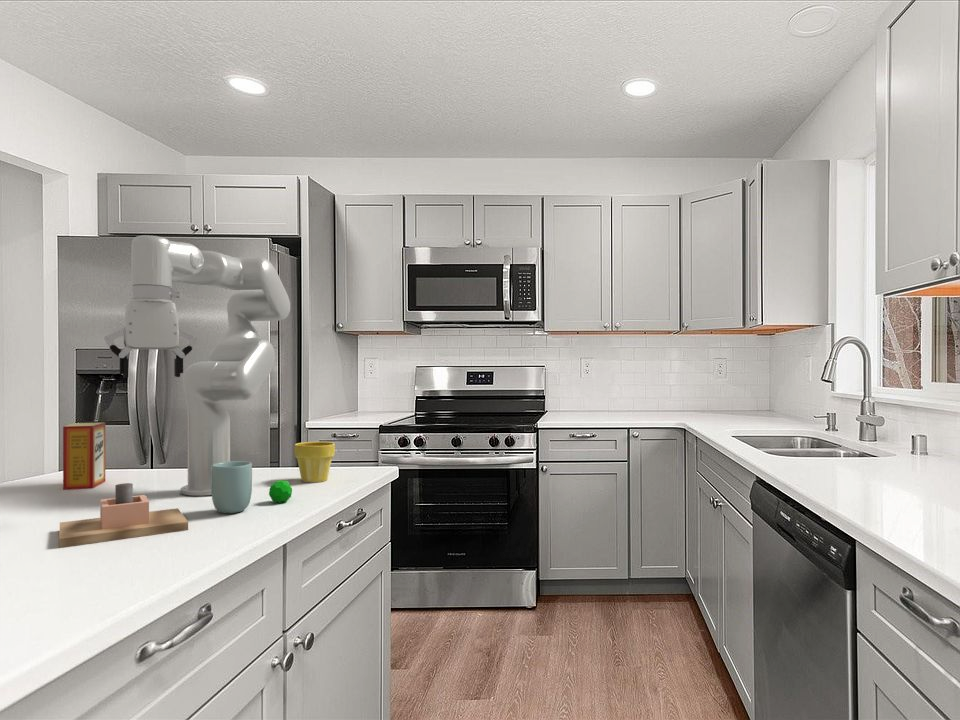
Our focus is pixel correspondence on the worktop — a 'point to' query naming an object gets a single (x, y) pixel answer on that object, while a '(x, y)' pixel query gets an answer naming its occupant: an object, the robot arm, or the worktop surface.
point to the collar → (124, 512)
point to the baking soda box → (83, 455)
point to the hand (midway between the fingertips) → (152, 377)
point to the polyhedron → (280, 491)
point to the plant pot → (314, 460)
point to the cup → (231, 486)
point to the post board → (93, 531)
